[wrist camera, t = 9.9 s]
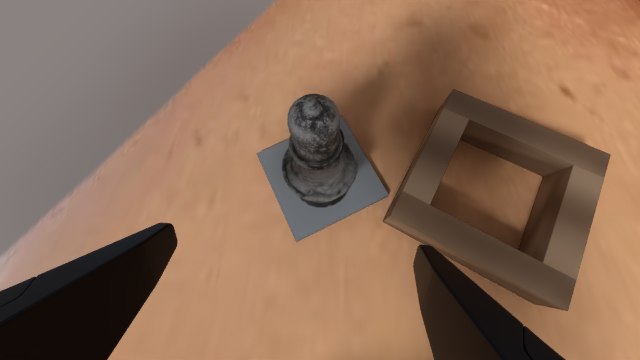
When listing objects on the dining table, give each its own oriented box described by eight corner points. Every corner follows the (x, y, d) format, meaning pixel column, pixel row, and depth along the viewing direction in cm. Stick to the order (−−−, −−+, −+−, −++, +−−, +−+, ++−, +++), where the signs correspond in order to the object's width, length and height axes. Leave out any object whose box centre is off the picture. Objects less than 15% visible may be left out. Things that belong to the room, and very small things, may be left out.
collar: (533, 303, 20) (567, 311, 17) (382, 221, 22) (390, 215, 20) (576, 167, 23) (610, 154, 20) (439, 108, 26) (453, 88, 23)
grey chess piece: (292, 215, 22) (249, 165, 11) (286, 153, 24) (245, 55, 13) (359, 206, 22) (387, 147, 11) (348, 145, 24) (363, 39, 13)
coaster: (296, 241, 22) (295, 241, 22) (258, 155, 25) (256, 153, 24) (387, 196, 23) (388, 194, 22) (341, 118, 26) (341, 115, 25)
